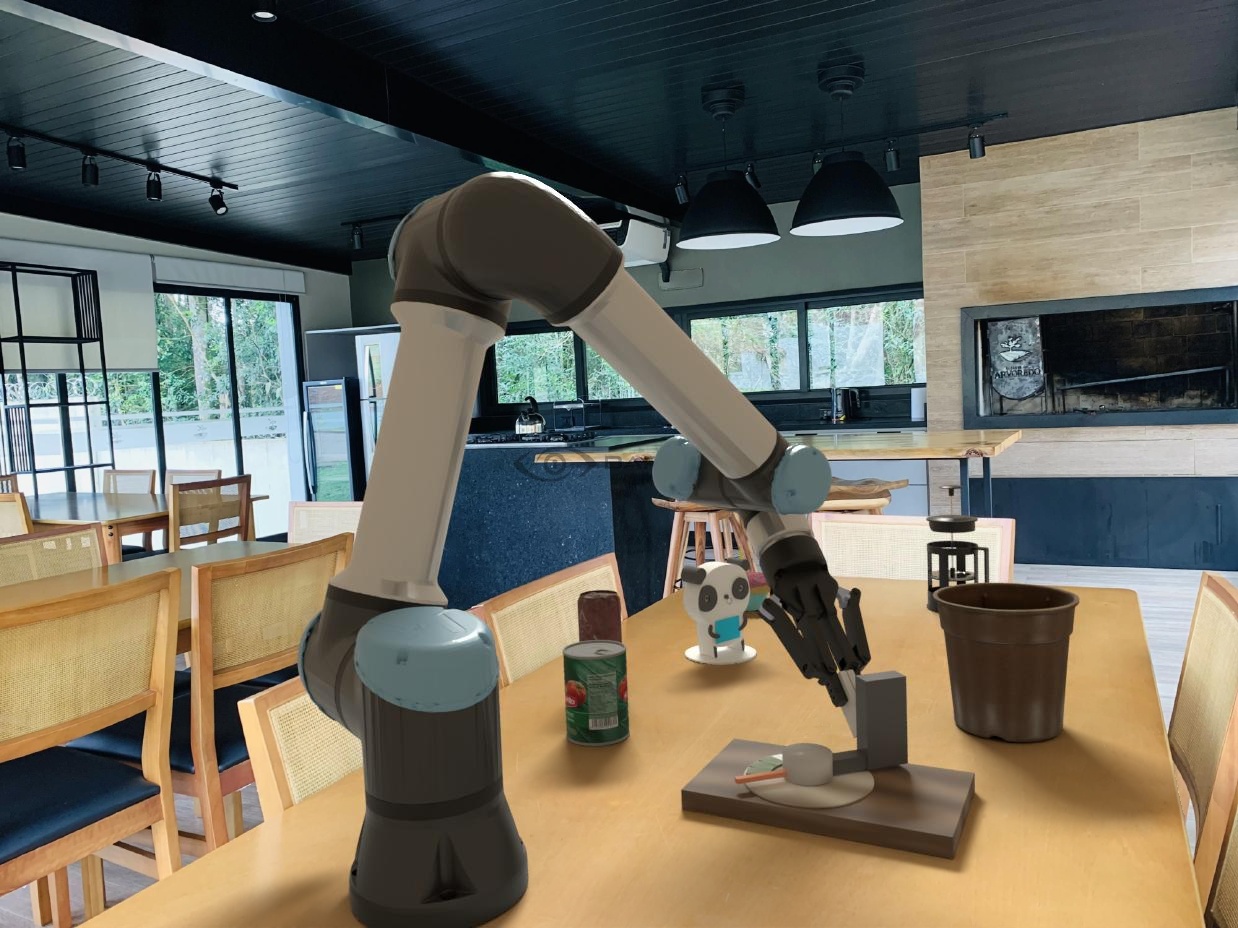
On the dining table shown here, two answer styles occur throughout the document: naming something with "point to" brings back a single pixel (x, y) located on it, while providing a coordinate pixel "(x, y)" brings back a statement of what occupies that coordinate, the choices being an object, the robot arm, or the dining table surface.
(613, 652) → the canned tomato
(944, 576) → the french press
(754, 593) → the cupcake
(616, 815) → the dining table surface
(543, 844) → the dining table surface
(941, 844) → the dial board
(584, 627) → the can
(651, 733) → the dining table surface
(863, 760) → the dial crank
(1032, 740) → the plant pot
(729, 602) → the panda figurine
